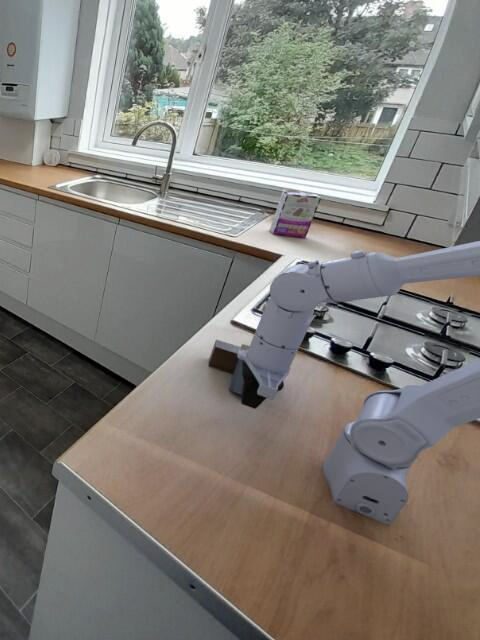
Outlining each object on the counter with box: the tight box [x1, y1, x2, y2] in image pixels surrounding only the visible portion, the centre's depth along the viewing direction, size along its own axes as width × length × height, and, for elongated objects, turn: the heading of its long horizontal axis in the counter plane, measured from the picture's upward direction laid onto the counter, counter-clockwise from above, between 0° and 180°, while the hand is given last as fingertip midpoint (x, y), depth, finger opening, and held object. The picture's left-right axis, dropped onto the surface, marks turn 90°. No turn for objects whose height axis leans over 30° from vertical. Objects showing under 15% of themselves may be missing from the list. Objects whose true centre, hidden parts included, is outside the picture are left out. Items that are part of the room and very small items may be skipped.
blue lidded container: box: [228, 343, 250, 396], centre depth 76 cm, size 8×4×10 cm, turn 148°
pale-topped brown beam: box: [207, 339, 241, 375], centre depth 81 cm, size 3×12×6 cm, turn 58°
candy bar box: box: [269, 190, 322, 239], centre depth 157 cm, size 11×5×16 cm, turn 73°
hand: (248, 404), depth 69 cm, fingers closed
